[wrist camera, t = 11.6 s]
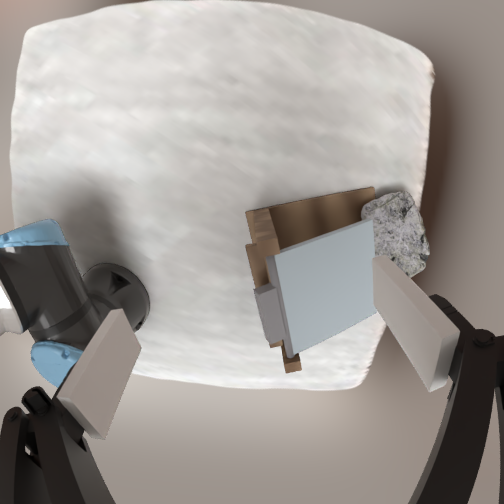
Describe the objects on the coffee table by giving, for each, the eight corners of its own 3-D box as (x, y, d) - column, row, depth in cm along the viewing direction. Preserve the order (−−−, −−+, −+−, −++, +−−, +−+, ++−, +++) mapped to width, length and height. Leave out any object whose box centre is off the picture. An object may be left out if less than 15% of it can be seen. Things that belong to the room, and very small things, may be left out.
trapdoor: (271, 359, 42) (276, 366, 40) (245, 258, 36) (250, 262, 34) (371, 310, 46) (377, 315, 45) (366, 215, 40) (374, 218, 39)
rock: (380, 287, 48) (380, 268, 54) (435, 274, 43) (429, 256, 49) (356, 207, 44) (358, 196, 50) (416, 189, 39) (411, 181, 45)
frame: (268, 318, 56) (274, 375, 41) (243, 212, 48) (241, 245, 34) (379, 292, 54) (413, 339, 40) (372, 186, 47) (418, 208, 32)
